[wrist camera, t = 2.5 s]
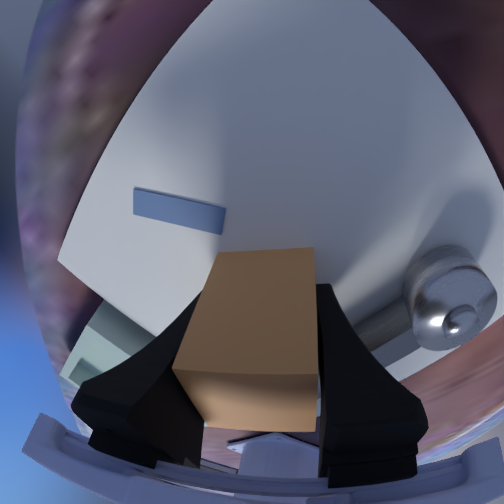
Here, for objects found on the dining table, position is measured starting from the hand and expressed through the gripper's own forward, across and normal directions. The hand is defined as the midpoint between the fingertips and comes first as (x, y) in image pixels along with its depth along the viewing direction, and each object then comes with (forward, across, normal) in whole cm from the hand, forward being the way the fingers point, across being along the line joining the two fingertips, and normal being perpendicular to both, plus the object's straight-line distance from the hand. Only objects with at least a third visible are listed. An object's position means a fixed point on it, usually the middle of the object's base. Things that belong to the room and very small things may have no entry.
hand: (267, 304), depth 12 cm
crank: (+1, -4, +3) cm, 5 cm away
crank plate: (+2, -2, 0) cm, 3 cm away
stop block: (+1, 0, 0) cm, 1 cm away
